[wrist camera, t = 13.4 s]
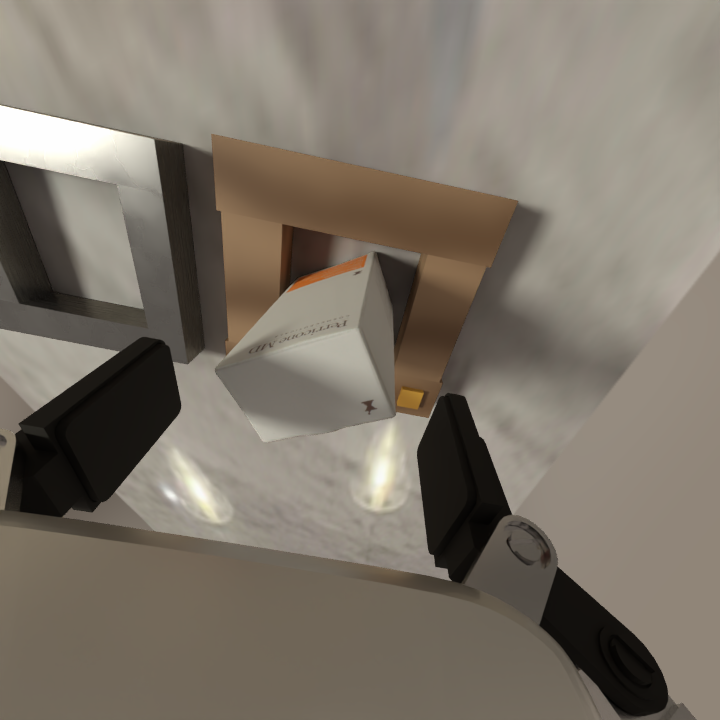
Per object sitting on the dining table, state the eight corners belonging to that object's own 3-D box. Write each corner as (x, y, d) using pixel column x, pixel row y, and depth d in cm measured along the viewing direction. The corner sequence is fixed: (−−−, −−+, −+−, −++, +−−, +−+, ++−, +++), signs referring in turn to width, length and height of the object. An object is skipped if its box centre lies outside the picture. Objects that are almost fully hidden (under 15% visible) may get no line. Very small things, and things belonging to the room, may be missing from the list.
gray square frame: (-65, 90, 17) (-130, 77, 15) (182, 143, 17) (153, 139, 15) (32, 315, 24) (-1, 328, 22) (204, 348, 25) (187, 364, 23)
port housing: (232, 139, 17) (207, 132, 15) (502, 197, 18) (521, 201, 15) (240, 362, 25) (225, 382, 23) (424, 398, 26) (429, 421, 23)
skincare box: (375, 247, 20) (365, 324, 9) (393, 306, 22) (400, 421, 12) (293, 276, 21) (207, 369, 11) (317, 328, 23) (264, 448, 13)
